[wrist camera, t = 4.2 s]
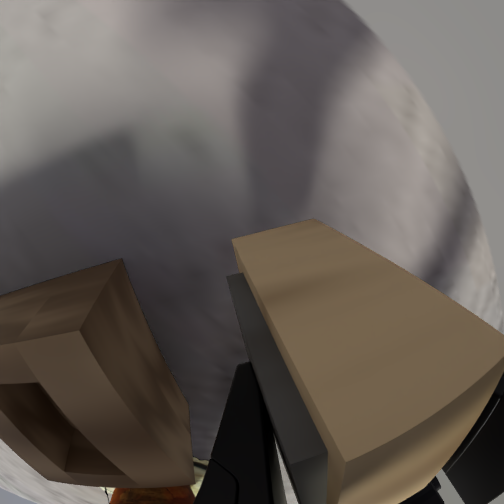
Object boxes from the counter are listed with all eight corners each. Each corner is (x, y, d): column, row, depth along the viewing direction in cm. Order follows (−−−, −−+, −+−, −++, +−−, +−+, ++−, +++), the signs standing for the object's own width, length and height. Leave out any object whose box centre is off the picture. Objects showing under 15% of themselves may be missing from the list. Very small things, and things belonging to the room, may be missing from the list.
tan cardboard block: (326, 347, 12) (424, 487, 5) (252, 371, 12) (313, 540, 4) (313, 218, 10) (515, 344, 2) (216, 242, 9) (298, 480, 2)
